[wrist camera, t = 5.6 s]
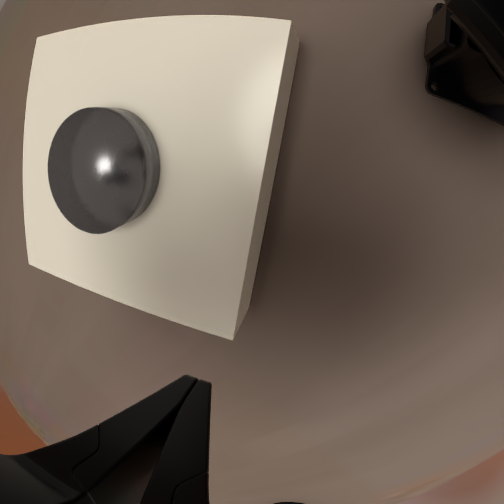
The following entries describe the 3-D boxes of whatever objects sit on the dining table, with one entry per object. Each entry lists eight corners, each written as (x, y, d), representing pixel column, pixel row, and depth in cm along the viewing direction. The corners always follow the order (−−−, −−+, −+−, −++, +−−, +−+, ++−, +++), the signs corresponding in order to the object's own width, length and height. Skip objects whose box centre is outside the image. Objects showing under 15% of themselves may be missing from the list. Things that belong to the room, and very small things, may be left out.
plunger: (197, 113, 19) (148, 109, 14) (183, 217, 22) (136, 247, 16) (111, 107, 20) (51, 107, 15) (103, 199, 23) (48, 220, 17)
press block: (299, 42, 16) (291, 20, 12) (248, 308, 23) (232, 340, 19) (72, 43, 19) (37, 37, 15) (59, 247, 26) (28, 263, 22)
